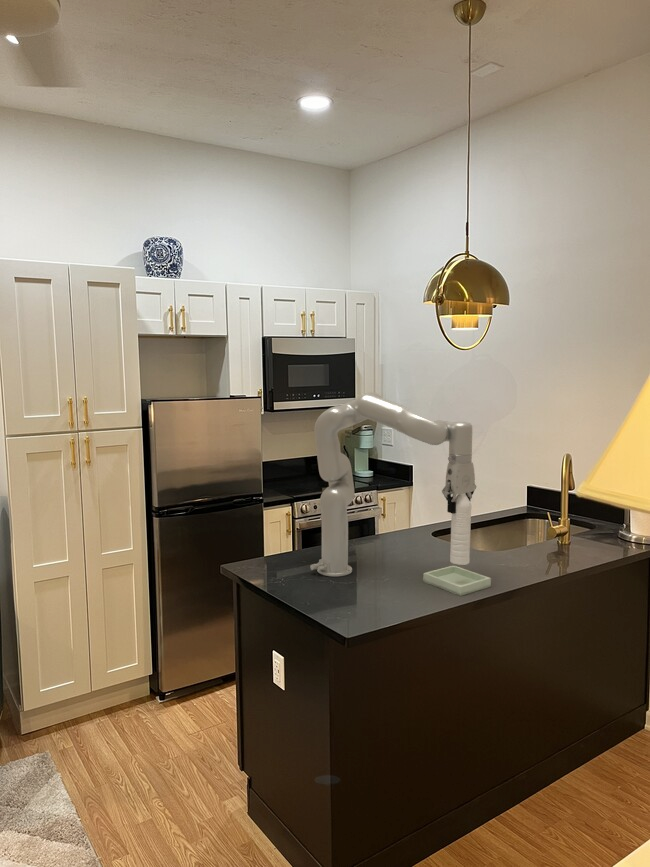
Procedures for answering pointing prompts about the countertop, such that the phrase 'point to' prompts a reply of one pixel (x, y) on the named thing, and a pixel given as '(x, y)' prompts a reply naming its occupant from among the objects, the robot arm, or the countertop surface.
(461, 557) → the water bottle
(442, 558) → the countertop surface
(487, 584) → the tray
